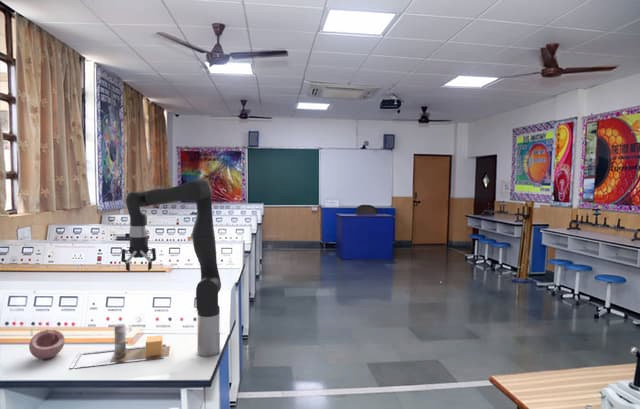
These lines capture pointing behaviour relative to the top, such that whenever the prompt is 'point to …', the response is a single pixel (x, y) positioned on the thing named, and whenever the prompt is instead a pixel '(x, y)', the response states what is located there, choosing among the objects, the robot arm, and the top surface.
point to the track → (110, 362)
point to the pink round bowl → (46, 344)
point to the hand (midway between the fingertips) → (139, 270)
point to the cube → (154, 345)
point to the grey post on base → (125, 355)
